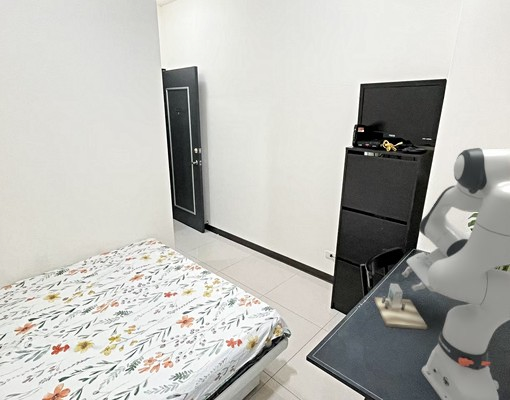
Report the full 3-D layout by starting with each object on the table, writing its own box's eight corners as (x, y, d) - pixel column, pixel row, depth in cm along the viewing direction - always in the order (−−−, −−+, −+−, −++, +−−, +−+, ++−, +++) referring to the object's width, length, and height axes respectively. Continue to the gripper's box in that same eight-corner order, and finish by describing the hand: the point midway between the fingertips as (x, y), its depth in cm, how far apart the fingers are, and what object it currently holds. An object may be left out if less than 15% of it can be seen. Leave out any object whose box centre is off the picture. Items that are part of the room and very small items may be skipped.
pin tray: (426, 329, 111) (429, 320, 110) (386, 326, 112) (388, 316, 111) (409, 302, 126) (411, 293, 125) (374, 300, 127) (375, 291, 126)
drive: (399, 310, 119) (402, 291, 116) (391, 309, 119) (395, 291, 116) (394, 301, 124) (397, 283, 121) (386, 301, 124) (390, 283, 122)
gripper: (421, 245, 124) (393, 264, 127) (447, 271, 104) (413, 292, 108) (429, 255, 125) (402, 273, 128) (457, 282, 105) (423, 303, 109)
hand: (407, 282), depth 118 cm, fingers open, 8 cm apart
